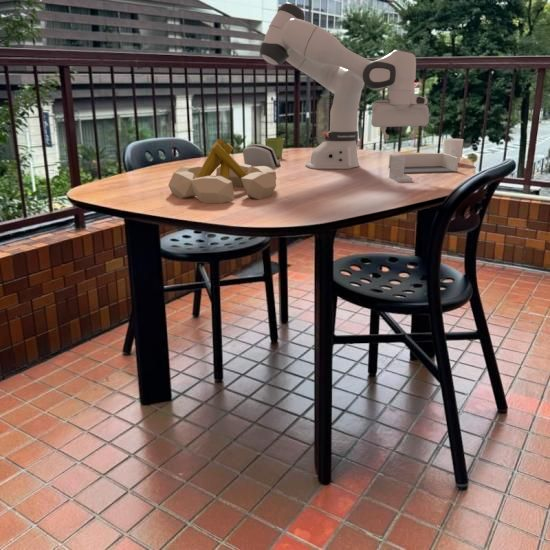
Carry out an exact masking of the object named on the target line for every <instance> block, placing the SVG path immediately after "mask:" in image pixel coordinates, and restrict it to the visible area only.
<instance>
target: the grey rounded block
mask: <svg viewBox="0 0 550 550" xmlns="http://www.w3.org/2000/svg"><path fill="white" fill-rule="evenodd" d="M242 155H243V161H244V162H243V163H244V164H247V165H252V166H255V167H256V166H267V167H270V168H275V167H281V166H282V165H281V162H280V161H278V158H277V157H276V154H275V152H274V149H272V148H270V147H268V146H267V145H264V144H261V143H259V144H258V143H257V144H255V143H254V144H251V145H248V146H246V147H245V148H243V149H242Z"/></svg>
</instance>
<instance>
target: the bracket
mask: <svg viewBox="0 0 550 550" xmlns="http://www.w3.org/2000/svg"><path fill="white" fill-rule="evenodd" d="M404 165H405V156H404V155H398V156H390V169H389V176H388V178H389V179H391V180H393V181H395V182H397V183H413V177H412V176H410V175H407V174H404Z"/></svg>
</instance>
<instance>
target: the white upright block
mask: <svg viewBox="0 0 550 550" xmlns="http://www.w3.org/2000/svg"><path fill="white" fill-rule="evenodd" d="M463 146H464V139H463V138H444V139H443V153H445V154H448V155H452V156H455V157H458V158H459V160H458V163H459V164H460V162H461V157H462V152H463Z"/></svg>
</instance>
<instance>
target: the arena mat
mask: <svg viewBox="0 0 550 550" xmlns="http://www.w3.org/2000/svg"><path fill="white" fill-rule="evenodd" d="M389 168H390V167H389V166H388V169H389ZM440 173H441V174H443V173H447V174H448V173H456V172H455V171H454V170H451V169H449V168H446V167H443V166H419V167H404V174H405V175H407V174H409V175H410V174H440Z"/></svg>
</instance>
